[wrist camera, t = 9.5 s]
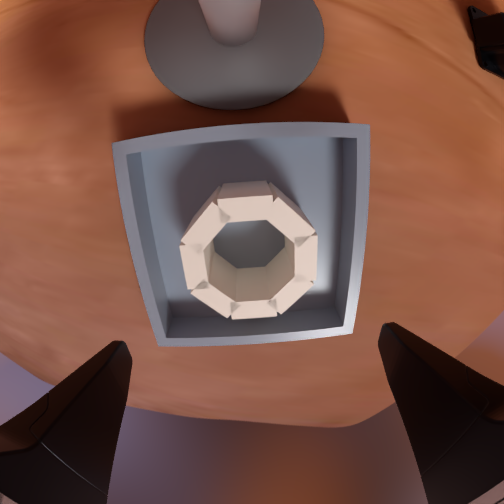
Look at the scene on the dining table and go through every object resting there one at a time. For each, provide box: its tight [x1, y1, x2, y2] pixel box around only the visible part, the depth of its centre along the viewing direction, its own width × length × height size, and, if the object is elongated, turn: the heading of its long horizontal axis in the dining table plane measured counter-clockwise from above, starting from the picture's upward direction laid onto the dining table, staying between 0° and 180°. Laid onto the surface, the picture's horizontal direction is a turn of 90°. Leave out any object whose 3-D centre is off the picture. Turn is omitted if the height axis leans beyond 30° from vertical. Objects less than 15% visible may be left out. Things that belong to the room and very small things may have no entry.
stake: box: [144, 0, 324, 110], centre depth 10 cm, size 11×11×7 cm
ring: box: [179, 180, 318, 319], centre depth 17 cm, size 7×9×4 cm
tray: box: [112, 122, 370, 346], centre depth 18 cm, size 14×14×3 cm
